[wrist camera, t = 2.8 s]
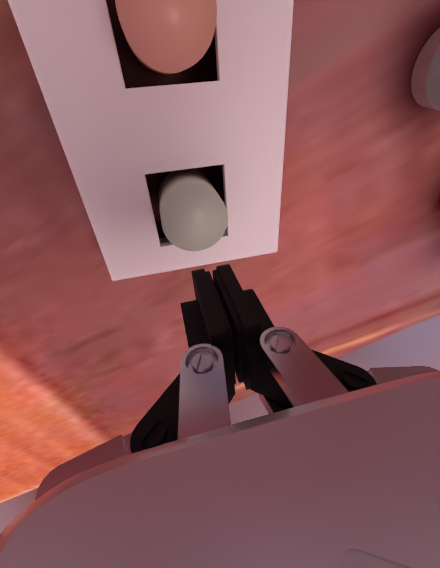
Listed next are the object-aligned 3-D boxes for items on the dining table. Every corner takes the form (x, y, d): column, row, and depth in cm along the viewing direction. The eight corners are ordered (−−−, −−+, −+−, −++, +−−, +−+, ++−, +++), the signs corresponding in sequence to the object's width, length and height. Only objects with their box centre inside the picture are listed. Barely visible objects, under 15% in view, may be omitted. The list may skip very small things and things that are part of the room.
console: (-178, -633, 8) (-485, -1321, 4) (271, -529, 10) (353, -931, 6) (117, 251, 26) (112, 281, 22) (258, 228, 28) (277, 251, 24)
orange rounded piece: (112, -27, 14) (99, -71, 10) (194, -30, 15) (212, -71, 11) (133, 77, 17) (130, 74, 13) (203, 72, 18) (220, 68, 14)
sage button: (152, 172, 20) (154, 192, 16) (210, 164, 21) (226, 182, 17) (164, 226, 23) (167, 256, 19) (215, 218, 24) (229, 245, 20)
